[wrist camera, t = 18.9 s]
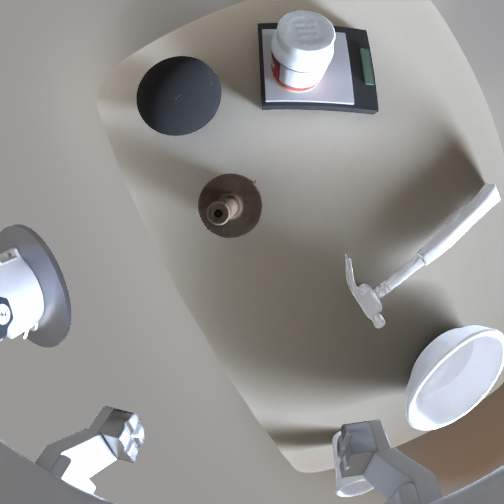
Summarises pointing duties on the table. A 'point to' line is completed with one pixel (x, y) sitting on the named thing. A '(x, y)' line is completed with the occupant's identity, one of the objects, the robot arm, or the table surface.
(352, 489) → the cup
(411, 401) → the bowl
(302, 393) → the table surface
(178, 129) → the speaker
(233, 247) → the table surface
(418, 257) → the hammer
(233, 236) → the industrial component
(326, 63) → the pill bottle
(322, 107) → the scale
